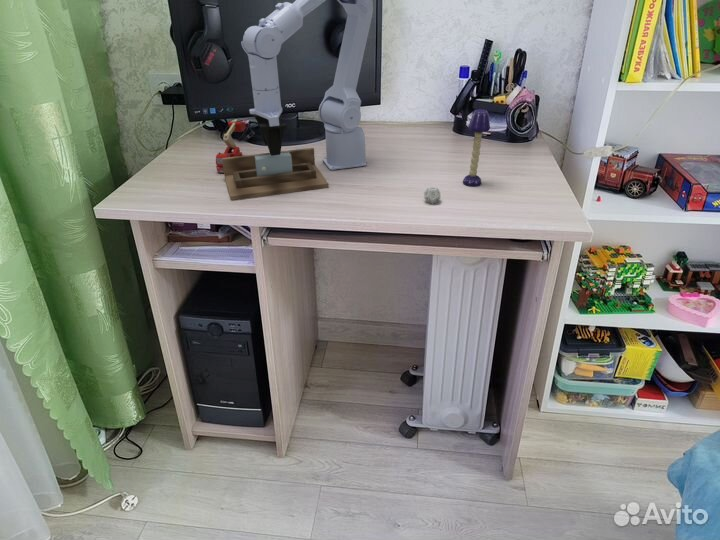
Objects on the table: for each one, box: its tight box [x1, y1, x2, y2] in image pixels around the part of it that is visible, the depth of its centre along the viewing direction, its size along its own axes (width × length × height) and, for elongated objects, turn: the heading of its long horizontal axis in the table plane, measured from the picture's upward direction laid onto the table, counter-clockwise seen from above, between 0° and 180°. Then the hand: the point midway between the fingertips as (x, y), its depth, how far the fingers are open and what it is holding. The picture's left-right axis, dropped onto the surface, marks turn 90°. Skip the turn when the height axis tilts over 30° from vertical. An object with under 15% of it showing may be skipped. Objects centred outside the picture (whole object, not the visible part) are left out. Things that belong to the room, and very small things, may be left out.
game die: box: [423, 186, 441, 205], centre depth 116 cm, size 4×4×3 cm
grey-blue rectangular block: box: [255, 152, 293, 176], centre depth 125 cm, size 8×3×6 cm, turn 108°
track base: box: [222, 147, 330, 201], centre depth 126 cm, size 22×14×5 cm, turn 108°
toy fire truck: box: [215, 121, 247, 174], centre depth 136 cm, size 3×14×10 cm, turn 168°
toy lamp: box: [462, 108, 491, 187], centre depth 121 cm, size 5×5×17 cm
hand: (272, 149), depth 123 cm, fingers open, 7 cm apart
